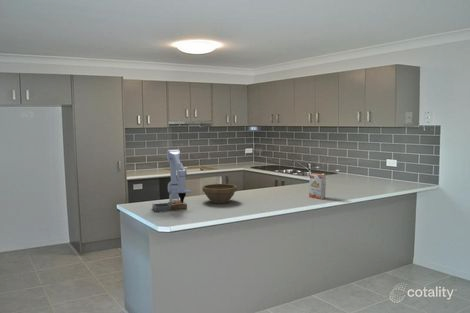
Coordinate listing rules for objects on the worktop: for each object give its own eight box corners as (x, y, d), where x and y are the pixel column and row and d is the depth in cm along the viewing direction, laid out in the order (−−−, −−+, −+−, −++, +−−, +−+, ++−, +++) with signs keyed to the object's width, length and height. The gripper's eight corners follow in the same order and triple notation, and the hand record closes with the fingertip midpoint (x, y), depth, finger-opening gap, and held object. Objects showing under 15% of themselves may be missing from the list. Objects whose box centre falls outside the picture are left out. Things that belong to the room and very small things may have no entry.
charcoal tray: (152, 208, 319) (152, 204, 318) (167, 207, 323) (167, 202, 323) (155, 211, 308) (155, 207, 307) (171, 210, 312) (171, 206, 312)
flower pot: (197, 200, 351) (197, 184, 349) (227, 197, 364) (227, 182, 362) (211, 206, 326) (210, 190, 324) (242, 203, 339) (242, 187, 337)
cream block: (171, 202, 323) (171, 199, 323) (176, 201, 324) (176, 198, 324) (173, 203, 319) (172, 200, 319) (178, 202, 321) (178, 199, 321)
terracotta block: (174, 203, 318) (174, 200, 318) (179, 203, 319) (179, 200, 319) (176, 204, 314) (176, 201, 314) (181, 204, 316) (181, 201, 315)
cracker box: (308, 196, 365) (309, 173, 363) (313, 196, 369) (313, 173, 367) (320, 199, 354) (321, 175, 352) (325, 198, 358) (326, 174, 356)
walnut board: (168, 207, 323) (168, 202, 323) (182, 206, 328) (182, 201, 327) (171, 210, 312) (171, 205, 312) (186, 209, 317) (186, 204, 316)
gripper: (173, 186, 310) (174, 204, 311) (192, 185, 315) (192, 202, 317) (171, 185, 316) (171, 202, 318) (189, 184, 322) (189, 201, 323)
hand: (181, 202), depth 318 cm, fingers closed
